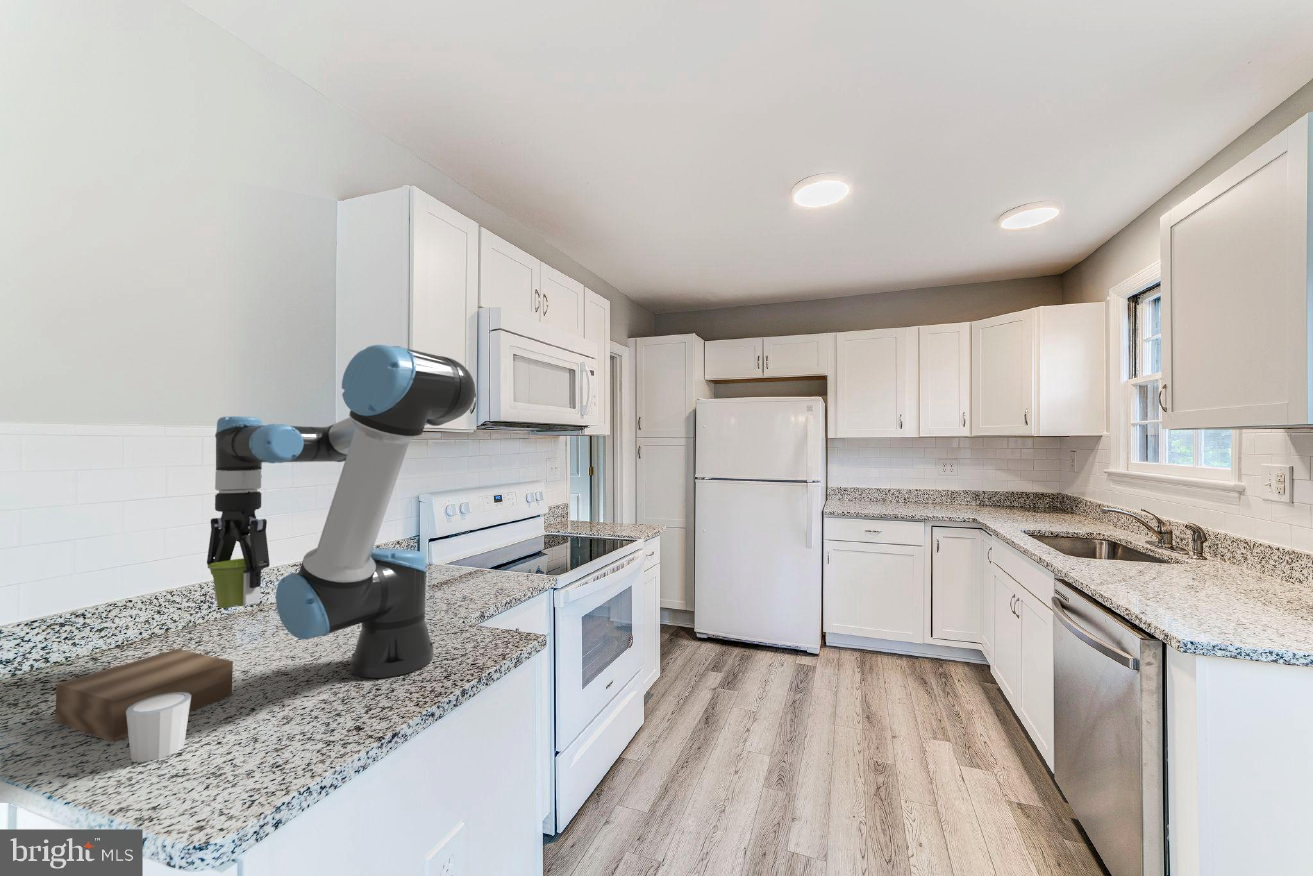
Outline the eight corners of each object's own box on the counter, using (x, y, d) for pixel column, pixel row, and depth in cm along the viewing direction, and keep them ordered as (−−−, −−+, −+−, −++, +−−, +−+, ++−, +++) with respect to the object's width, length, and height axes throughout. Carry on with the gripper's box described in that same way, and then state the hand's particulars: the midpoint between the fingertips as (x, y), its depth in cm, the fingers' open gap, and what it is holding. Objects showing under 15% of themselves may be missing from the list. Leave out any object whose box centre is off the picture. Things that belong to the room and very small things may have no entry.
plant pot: (233, 612, 103) (233, 567, 103) (194, 609, 105) (195, 566, 105) (276, 599, 112) (277, 558, 112) (240, 597, 114) (240, 557, 114)
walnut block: (231, 695, 93) (232, 661, 93) (113, 742, 78) (114, 701, 78) (176, 681, 99) (176, 648, 99) (55, 722, 84) (56, 684, 84)
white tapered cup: (125, 750, 76) (126, 701, 76) (188, 733, 81) (189, 687, 81) (124, 771, 71) (125, 719, 71) (191, 751, 76) (193, 702, 76)
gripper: (292, 490, 109) (290, 601, 108) (225, 489, 116) (224, 592, 115) (253, 493, 102) (251, 611, 101) (185, 491, 109) (183, 602, 108)
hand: (237, 601), depth 108 cm, fingers closed on plant pot, 8 cm apart
